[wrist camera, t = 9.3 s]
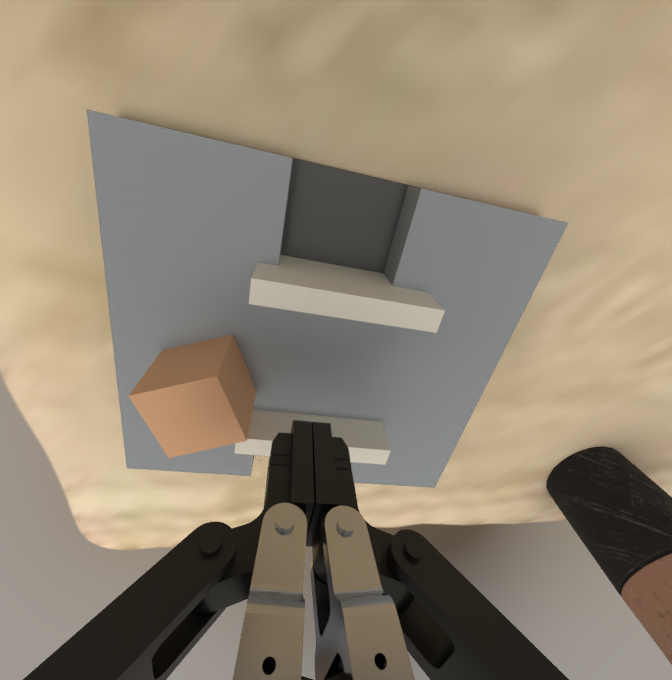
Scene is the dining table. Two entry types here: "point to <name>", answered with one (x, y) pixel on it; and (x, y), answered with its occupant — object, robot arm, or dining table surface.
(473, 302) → the tunnel deck
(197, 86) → the dining table surface
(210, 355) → the block
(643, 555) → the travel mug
